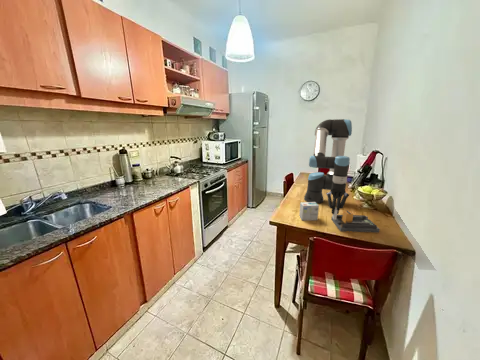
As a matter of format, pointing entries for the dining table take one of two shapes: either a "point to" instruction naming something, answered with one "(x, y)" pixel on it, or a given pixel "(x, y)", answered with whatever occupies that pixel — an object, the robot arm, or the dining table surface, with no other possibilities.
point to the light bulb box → (309, 210)
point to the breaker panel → (356, 220)
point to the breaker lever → (347, 216)
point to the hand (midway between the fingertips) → (334, 218)
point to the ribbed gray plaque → (358, 224)
